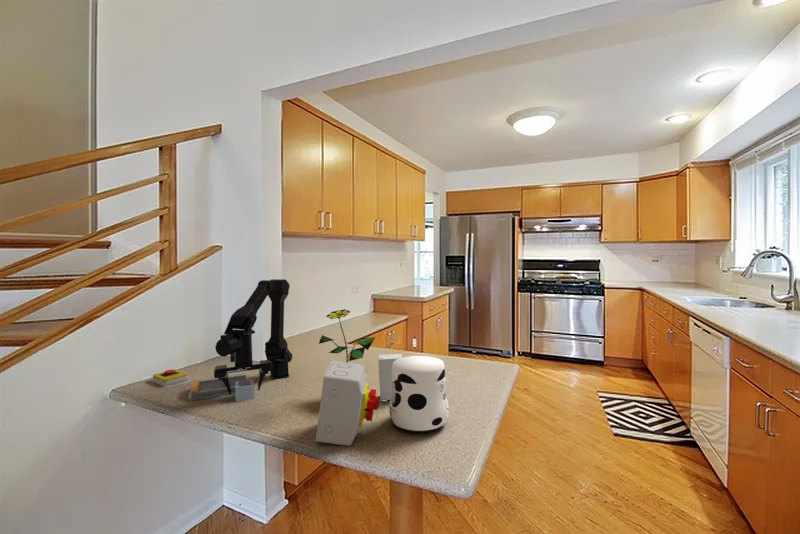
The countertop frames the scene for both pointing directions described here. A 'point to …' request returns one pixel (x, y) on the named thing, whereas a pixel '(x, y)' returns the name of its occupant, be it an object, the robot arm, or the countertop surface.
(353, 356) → the potted plant
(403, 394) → the cow print canister
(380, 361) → the skincare box
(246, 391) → the block
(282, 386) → the countertop surface
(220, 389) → the rail plate
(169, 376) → the emergency button
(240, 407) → the countertop surface
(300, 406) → the countertop surface
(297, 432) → the countertop surface
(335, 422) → the electrical switch box
